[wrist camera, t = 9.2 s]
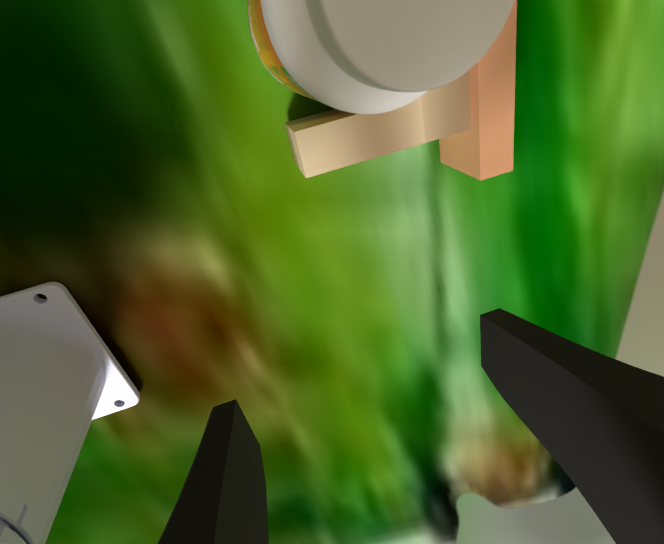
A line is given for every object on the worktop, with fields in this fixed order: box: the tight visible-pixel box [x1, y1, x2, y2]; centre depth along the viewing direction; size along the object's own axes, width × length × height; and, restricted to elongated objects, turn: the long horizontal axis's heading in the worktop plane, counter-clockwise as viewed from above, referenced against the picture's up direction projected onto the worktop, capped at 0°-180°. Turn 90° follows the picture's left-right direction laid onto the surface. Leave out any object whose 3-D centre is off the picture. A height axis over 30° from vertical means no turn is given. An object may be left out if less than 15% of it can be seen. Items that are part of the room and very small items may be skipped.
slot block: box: [285, 70, 471, 178], centre depth 14 cm, size 7×10×3 cm
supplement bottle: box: [248, 0, 515, 114], centre depth 11 cm, size 5×5×10 cm
